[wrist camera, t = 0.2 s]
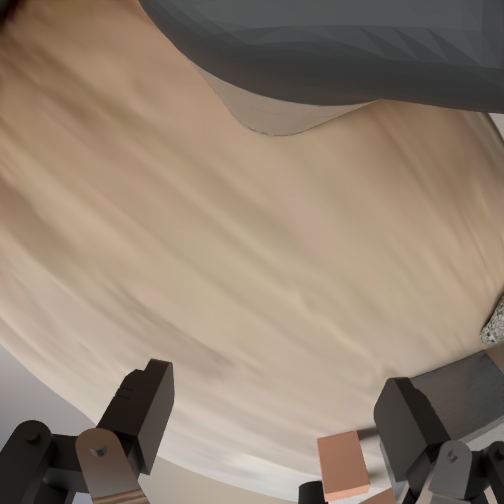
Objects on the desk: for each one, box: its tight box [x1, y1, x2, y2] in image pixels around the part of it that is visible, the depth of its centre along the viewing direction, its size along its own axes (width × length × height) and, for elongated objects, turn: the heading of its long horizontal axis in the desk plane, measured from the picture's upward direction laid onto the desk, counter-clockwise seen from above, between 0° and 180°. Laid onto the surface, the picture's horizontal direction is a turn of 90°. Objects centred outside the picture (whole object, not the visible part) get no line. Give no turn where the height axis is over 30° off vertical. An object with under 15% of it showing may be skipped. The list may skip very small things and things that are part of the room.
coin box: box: [380, 350, 504, 504], centre depth 28 cm, size 16×16×13 cm
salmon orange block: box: [317, 431, 370, 502], centre depth 32 cm, size 6×4×10 cm, turn 102°
